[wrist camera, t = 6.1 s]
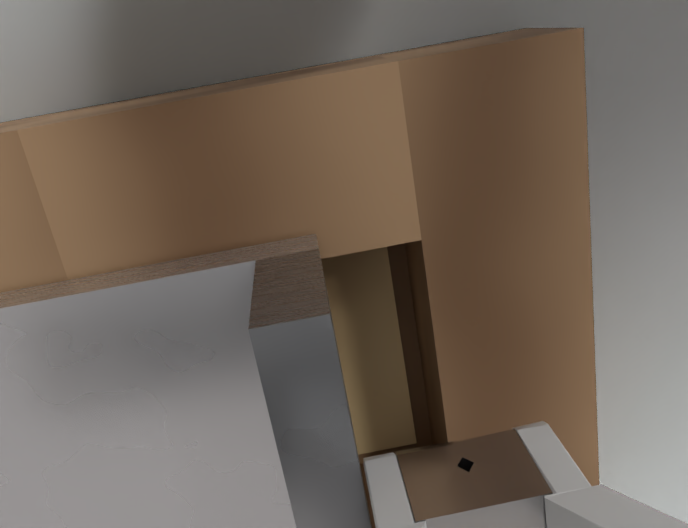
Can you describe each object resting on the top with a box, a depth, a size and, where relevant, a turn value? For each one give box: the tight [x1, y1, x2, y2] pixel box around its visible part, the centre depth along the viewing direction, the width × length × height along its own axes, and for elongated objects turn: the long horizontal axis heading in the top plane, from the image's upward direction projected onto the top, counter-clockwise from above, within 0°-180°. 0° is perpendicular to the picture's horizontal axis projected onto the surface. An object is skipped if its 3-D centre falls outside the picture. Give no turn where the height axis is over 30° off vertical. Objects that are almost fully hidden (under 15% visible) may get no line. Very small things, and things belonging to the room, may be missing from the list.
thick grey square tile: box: [0, 234, 372, 528], centre depth 10 cm, size 7×7×3 cm
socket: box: [0, 28, 599, 528], centre depth 13 cm, size 18×12×3 cm, turn 99°
